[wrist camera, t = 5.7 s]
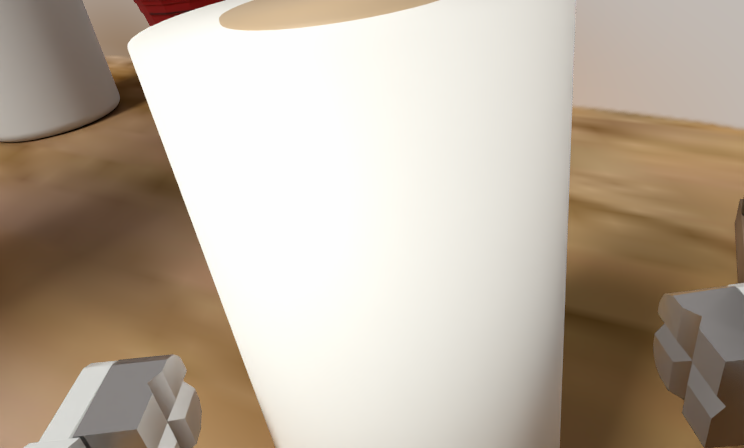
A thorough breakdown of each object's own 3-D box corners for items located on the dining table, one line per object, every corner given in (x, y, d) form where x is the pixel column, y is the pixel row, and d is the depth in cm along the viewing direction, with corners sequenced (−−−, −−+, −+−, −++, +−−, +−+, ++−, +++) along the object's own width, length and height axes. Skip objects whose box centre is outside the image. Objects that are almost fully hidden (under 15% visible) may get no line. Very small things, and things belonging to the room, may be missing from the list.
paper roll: (520, 727, 11) (497, 46, 4) (274, 593, 13) (24, 60, 7) (576, 468, 15) (609, -62, 8) (382, 408, 18) (292, -26, 11)
